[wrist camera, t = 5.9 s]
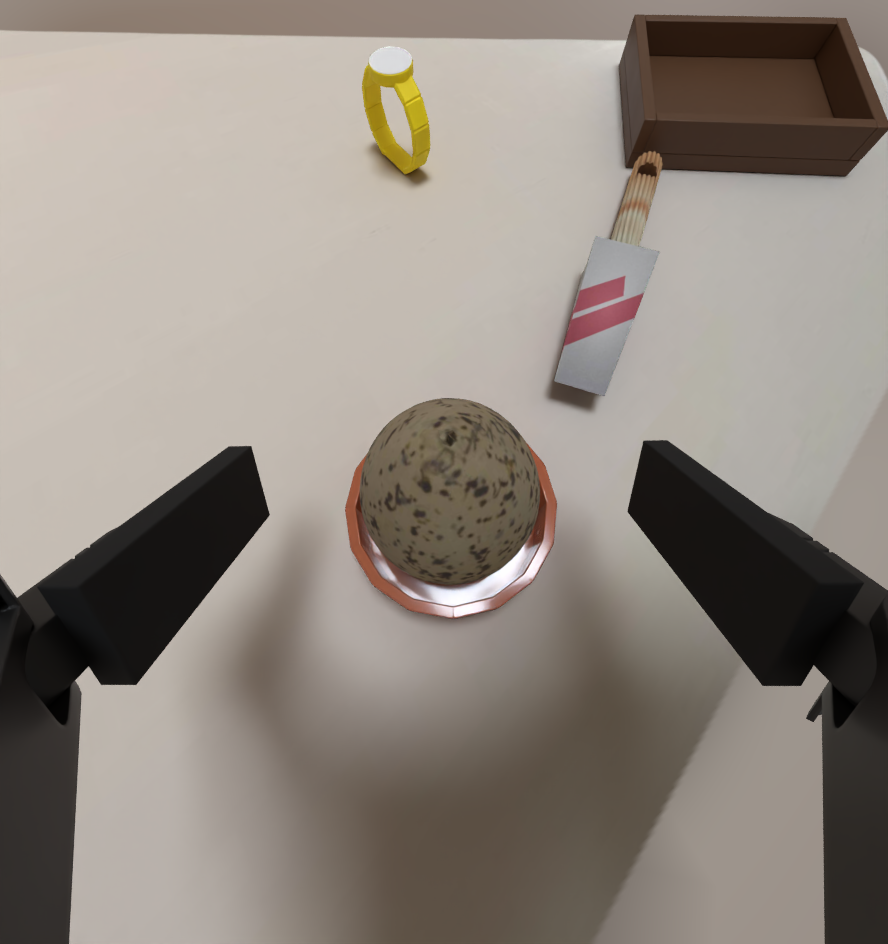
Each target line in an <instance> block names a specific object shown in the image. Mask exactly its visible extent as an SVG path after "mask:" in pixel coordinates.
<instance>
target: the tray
mask: <svg viewBox="0 0 888 944" xmlns="http://www.w3.org/2000/svg"><path fill="white" fill-rule="evenodd" d="M619 70H620V85H621V100H622V114H623V129H624V144H625V159H626V167H634V164H635V162H636V161H637V160H638V157H640V156H642V155H643V154H644V153H648V152H649V151H651V152H654V151H655V152H656V154H657V153H659V154H660V157H662V161H661V162H662V164H663V165H662V168H661V169H685V170H710V171H735V172H761V173H786V174H811V175H837V176H846V175H847V174H848V173H849V172H850V171H851V170H852V169H853V168H854V167H855V166H856V165H857V164H858V163H859V161H860V160H861V159H862V158H863V157H864V156H865V155H866V154H867V152H868V151H869V150H870V149H871V148H872V147H873V146H874V145H875V144H876V143H877V142H878V141H879V139H880V138H881V137H882V136H883V135H884V134H885V133H886V132H887V131H888V120H887V117H886V115H885V113H884V110H883V108H882V105H881V103H880V100H879V98H878V95H877V93H876V90H875V88H874V85H873V83H872V80H871V78H870V76H869V73H868V71H867V68H866V66H865V63H864V61H863V58H862V56H861V53H860V51H859V48H858V46H857V43H856V41H855V39H854V36H853V34H852V31H851V29H850V26H849V24H848V21H847V19H846V18H836V19H835V18H817V17H816V18H815V17H753V16H748V17H747V16H688V15H686V16H684V15H683V16H682V15H635V16H634V19H633V22H632V25H631V29H630V32H629V35H628V39H627V42H626V45H625V48H624V51H623V54H622V58H621V61H620V64H619Z"/></svg>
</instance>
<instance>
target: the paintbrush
mask: <svg viewBox="0 0 888 944" xmlns="http://www.w3.org/2000/svg"><path fill="white" fill-rule="evenodd" d="M661 161H662V157H660V154H659V153H657V154H656V152H655V151H654V152H651V151H649V152H648V153H644V154H643V155H642V156H640V157H638V160H637V161H636V162H635V164H634V167H633V171H632V174H631V177H630V180H629V183H628V186H627V189H626V192H625V196H624V199H623V202H622V205H621V208H620V212H619V215H618V218H617V221H616V224H615V228H614V231H613V234H612V237H611V240H610V239H606V238H602V237H598V236H595V240H594V243H593V246H592V249H591V252H590V256H589V259H588V262H587V265H586V267H585V269H584V271H583V273H582V277H581V280H580V284H579V288H578V292H577V296H576V300H575V303H574V307H573V311H572V315H571V319H570V322H569V326H568V330H567V334H566V338H565V342H564V345H563V349H562V353H561V357H560V361H559V364H558V368H557V372H556V376H555V380H554V381H555V382H559V383H562V384H565V385H569V386H572V387H575V388H579V389H582V390H585V391H588V392H592V393H595V394H598V395H602V396H605V393H606V391H607V388H608V385H609V383H610V380H611V378H612V375H613V372H614V370H615V367H616V365H617V362H618V359H619V357H620V354H621V352H622V349H623V346H624V344H625V341H626V338H627V336H628V333H629V331H630V328H631V325H632V323H633V320H634V318H635V315H636V312H637V310H638V307H639V305H640V302H641V299H642V297H643V294H644V292H645V289H646V286H647V284H648V281H649V278H650V276H651V273H652V271H653V268H654V265H655V263H656V260H657V258H658V255H659V251H655V250H651V249H647V248H643V247H639V245H640V241H641V238H642V235H643V231H644V228H645V224H646V221H647V217H648V214H649V210H650V207H651V203H652V200H653V196H654V193H655V189H656V186H657V182H658V179H659V175H660V172H661V168H662V165H663V164H662V162H661Z"/></svg>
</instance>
